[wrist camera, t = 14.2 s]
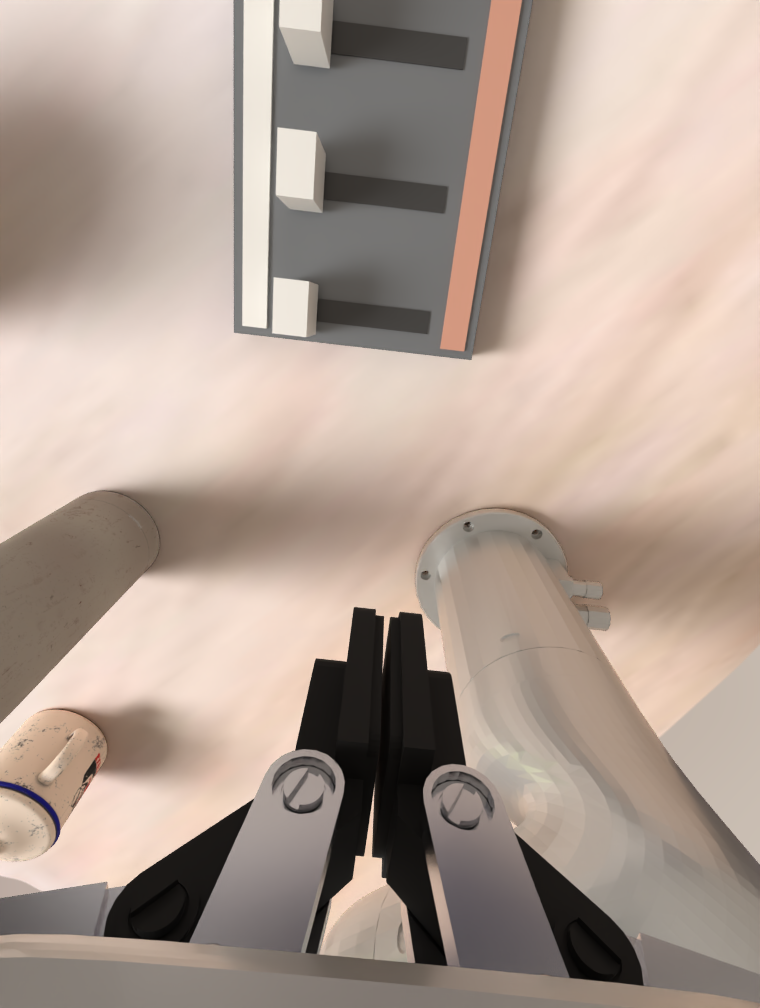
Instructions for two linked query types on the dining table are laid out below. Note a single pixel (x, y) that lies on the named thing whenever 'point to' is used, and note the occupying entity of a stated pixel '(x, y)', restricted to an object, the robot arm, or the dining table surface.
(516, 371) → the dining table surface
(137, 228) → the dining table surface
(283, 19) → the block
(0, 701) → the thermos bottle
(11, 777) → the teacup with lid
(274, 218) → the grey slider switch panel
